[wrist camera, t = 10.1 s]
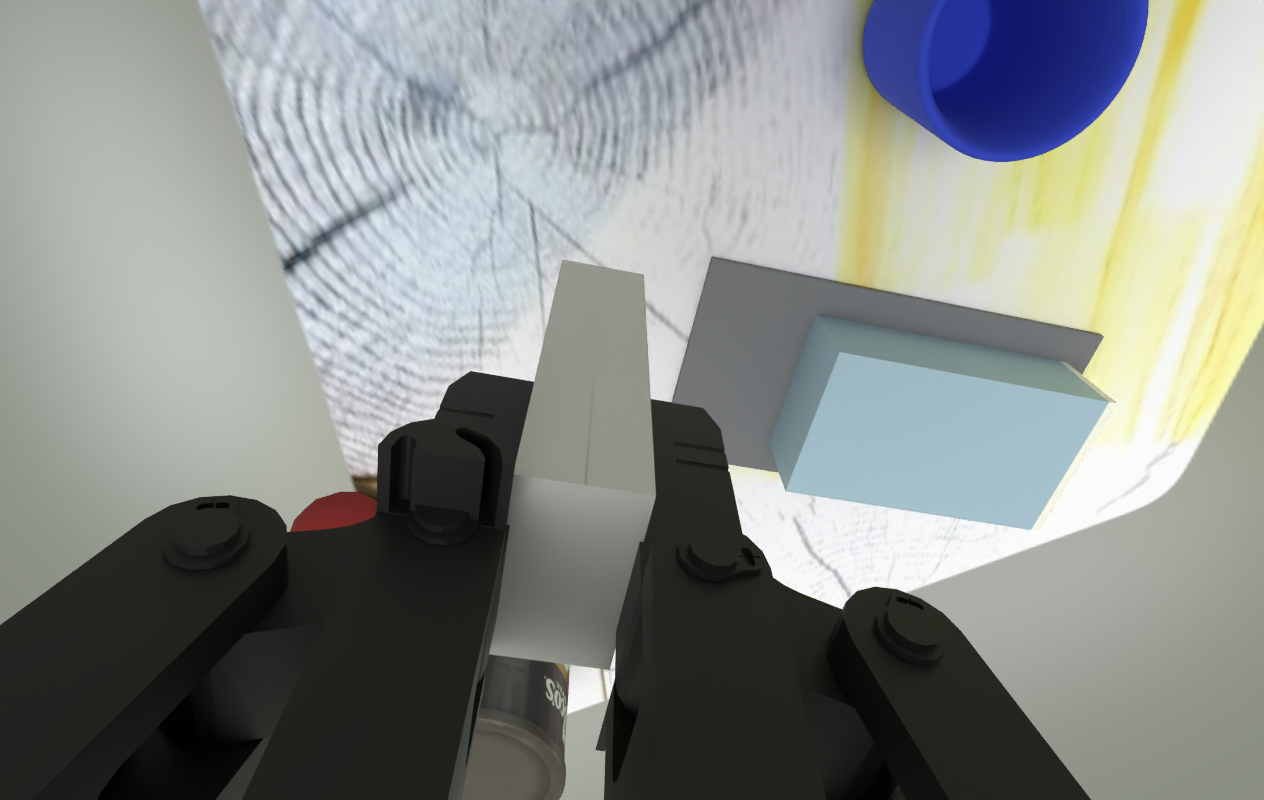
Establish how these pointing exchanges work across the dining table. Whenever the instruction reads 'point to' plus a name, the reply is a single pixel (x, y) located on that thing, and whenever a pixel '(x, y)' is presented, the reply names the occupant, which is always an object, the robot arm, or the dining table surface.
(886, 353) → the block
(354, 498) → the tomato
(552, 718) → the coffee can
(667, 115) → the dining table surface
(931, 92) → the mug
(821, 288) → the mat
